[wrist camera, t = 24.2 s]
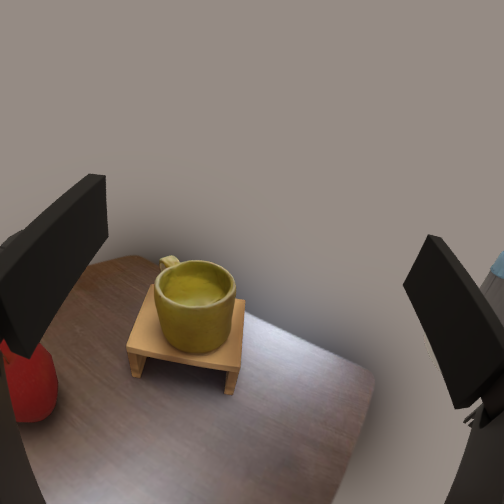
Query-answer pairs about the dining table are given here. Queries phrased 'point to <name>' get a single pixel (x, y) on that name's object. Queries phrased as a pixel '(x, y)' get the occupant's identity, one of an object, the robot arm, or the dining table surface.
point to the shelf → (156, 346)
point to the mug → (194, 304)
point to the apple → (31, 383)
